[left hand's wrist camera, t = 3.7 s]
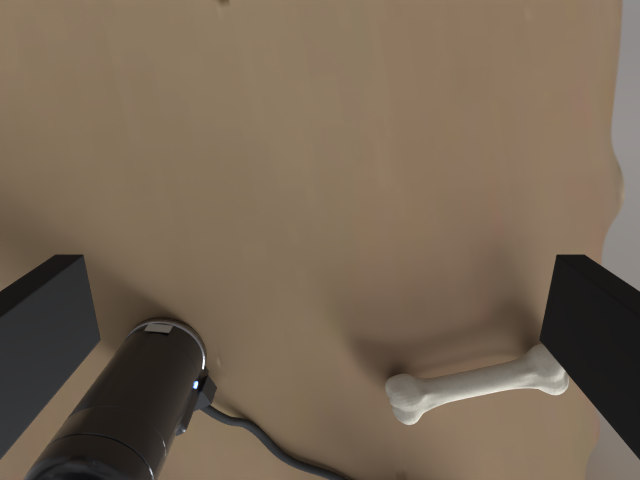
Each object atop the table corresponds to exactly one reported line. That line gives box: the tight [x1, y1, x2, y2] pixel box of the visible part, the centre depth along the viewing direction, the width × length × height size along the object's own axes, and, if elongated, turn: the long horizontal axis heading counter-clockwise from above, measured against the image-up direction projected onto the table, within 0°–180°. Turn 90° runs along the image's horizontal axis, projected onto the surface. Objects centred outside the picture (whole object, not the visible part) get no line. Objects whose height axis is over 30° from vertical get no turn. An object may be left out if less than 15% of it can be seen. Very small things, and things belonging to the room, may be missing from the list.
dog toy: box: [385, 344, 569, 425], centre depth 50 cm, size 20×6×5 cm, turn 105°
